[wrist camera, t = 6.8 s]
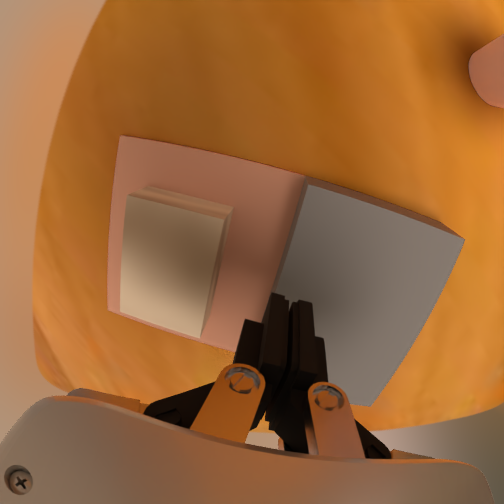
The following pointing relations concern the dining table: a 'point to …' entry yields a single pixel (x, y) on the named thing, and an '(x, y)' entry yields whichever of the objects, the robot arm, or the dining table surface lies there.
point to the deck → (364, 280)
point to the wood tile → (172, 258)
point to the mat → (240, 230)
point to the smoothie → (489, 72)
